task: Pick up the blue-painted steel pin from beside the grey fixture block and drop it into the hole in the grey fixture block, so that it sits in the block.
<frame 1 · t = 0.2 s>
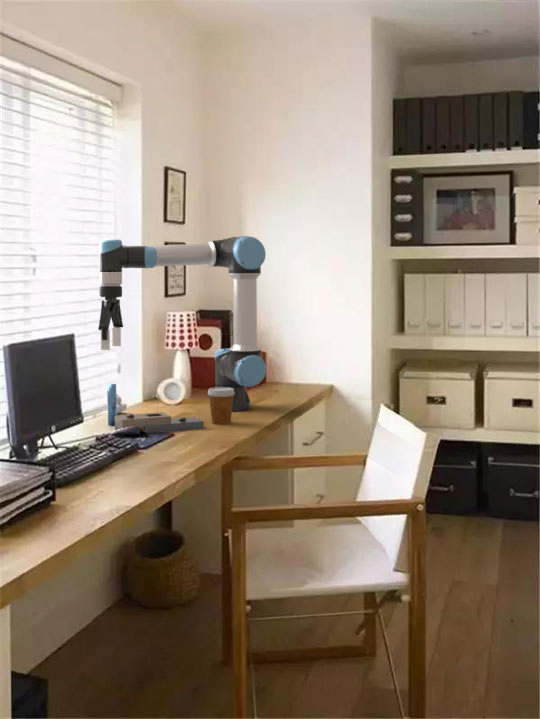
hand: (111, 348, 297), 26 cm above the table, fingers open, 13 cm apart
rubber duck: (118, 414, 322), on the table
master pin: (112, 424, 299), on the table
grey fixture block: (154, 430, 290), on the table
disposable coffee cup: (221, 423, 303), on the table
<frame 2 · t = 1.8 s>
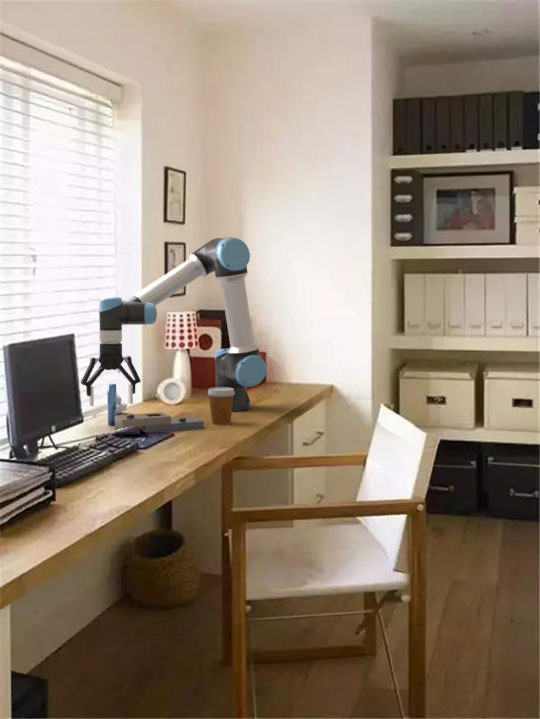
hand: (111, 404, 299), 7 cm above the table, fingers open, 13 cm apart
nothing on the table moved.
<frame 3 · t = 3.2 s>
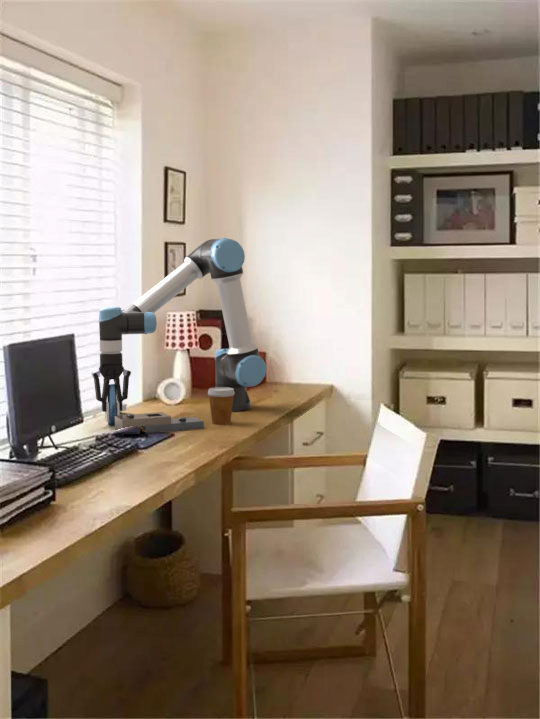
hand: (112, 420, 299), 2 cm above the table, fingers closed on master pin, 3 cm apart
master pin: (112, 424, 299), on the table, touching gripper
everything else where it was.
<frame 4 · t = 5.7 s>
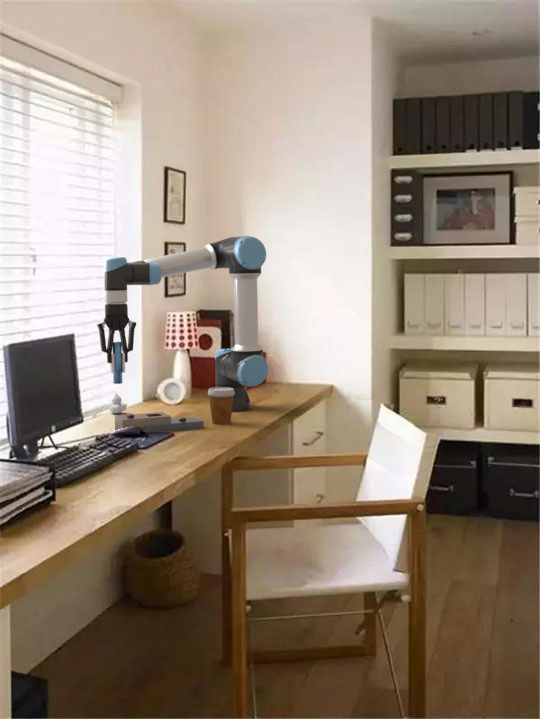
hand: (117, 372, 296), 18 cm above the table, fingers closed on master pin, 3 cm apart
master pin: (117, 383, 297), point 15 cm above the table, touching gripper
everything else where it was.
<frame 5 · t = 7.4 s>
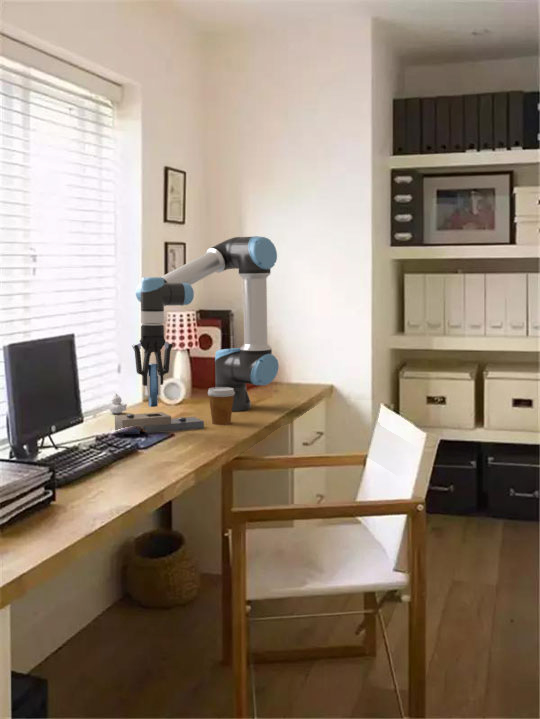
hand: (152, 395, 289), 12 cm above the table, fingers closed on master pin, 3 cm apart
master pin: (153, 406, 289), point 8 cm above the table, touching gripper
everything else where it was.
when the fingers open (7 cm above the table, at t = 8.4 s): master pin drops 2 cm, resting in grey fixture block.
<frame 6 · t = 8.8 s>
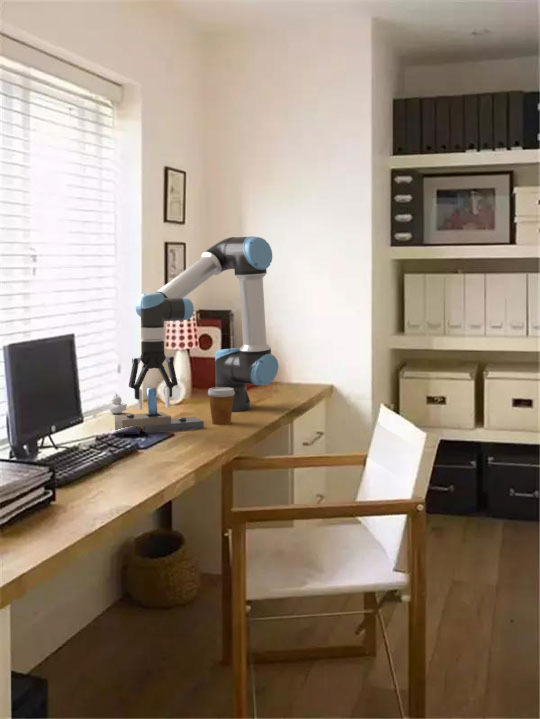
hand: (153, 407, 289), 7 cm above the table, fingers open, 9 cm apart
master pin: (154, 429, 290), resting in grey fixture block
everything else where it was.
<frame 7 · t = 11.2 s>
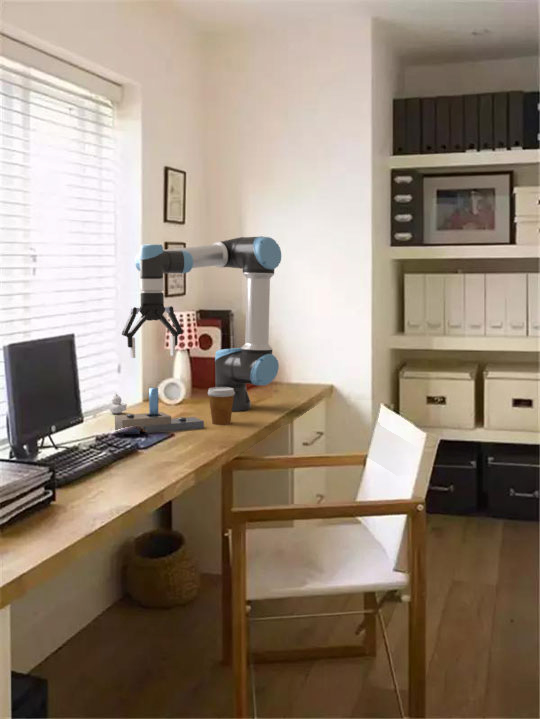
hand: (153, 356, 288), 25 cm above the table, fingers open, 13 cm apart
nothing on the table moved.
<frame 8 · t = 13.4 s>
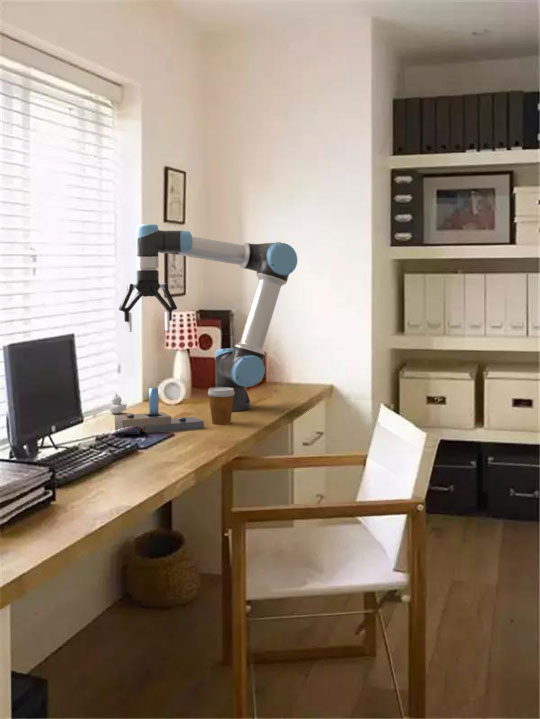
hand: (148, 330, 304), 32 cm above the table, fingers open, 13 cm apart
nothing on the table moved.
at the end: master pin 0.0 cm off-centre on the grey fixture block, point 0.0 cm above the grey fixture block's base; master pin tilted 0°; the gripper is holding nothing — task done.
